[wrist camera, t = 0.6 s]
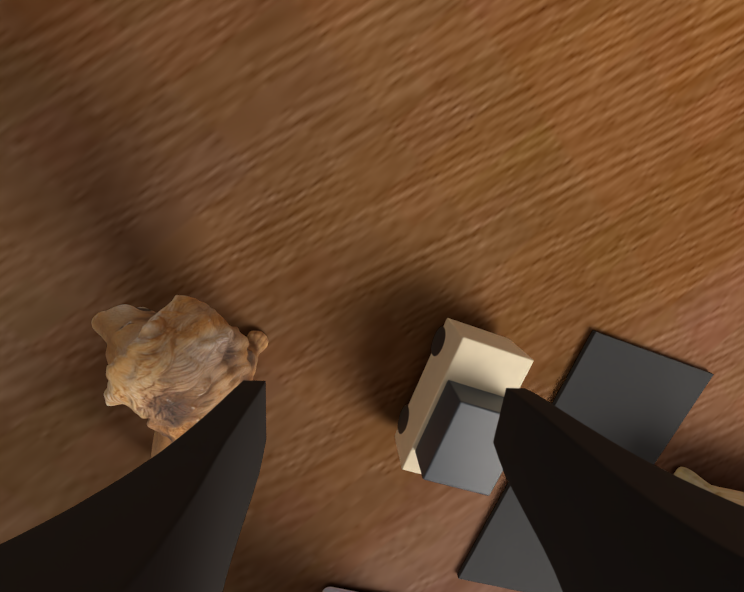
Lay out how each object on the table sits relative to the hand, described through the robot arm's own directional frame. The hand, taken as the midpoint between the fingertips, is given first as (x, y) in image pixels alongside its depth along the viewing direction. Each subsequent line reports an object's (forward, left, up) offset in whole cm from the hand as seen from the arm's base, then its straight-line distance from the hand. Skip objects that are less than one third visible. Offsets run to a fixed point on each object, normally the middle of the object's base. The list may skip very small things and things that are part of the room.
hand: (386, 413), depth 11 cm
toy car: (-3, -6, -10) cm, 12 cm away
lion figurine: (-7, +7, -10) cm, 14 cm away
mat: (-7, -18, -10) cm, 21 cm away
